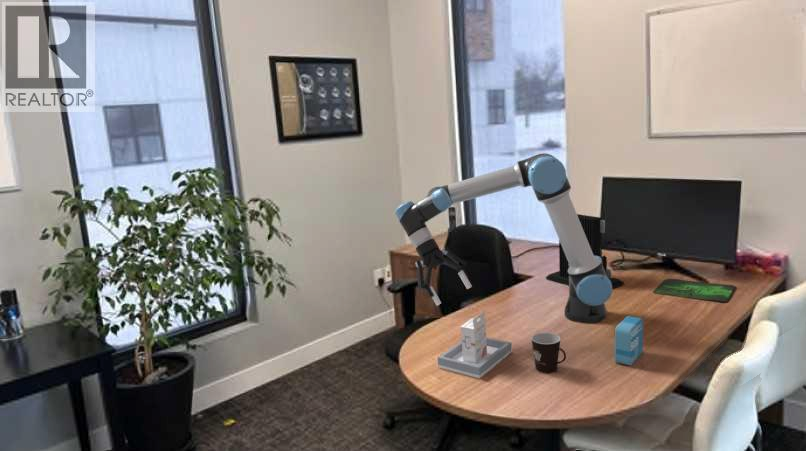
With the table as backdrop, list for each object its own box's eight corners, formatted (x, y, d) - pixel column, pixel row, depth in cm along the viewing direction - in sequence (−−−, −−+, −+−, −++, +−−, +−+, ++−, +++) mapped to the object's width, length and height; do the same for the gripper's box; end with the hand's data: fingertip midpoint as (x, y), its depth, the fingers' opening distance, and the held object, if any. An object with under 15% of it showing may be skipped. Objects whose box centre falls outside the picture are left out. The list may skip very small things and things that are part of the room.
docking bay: (511, 352, 188) (511, 342, 188) (479, 378, 172) (479, 367, 172) (472, 343, 198) (471, 333, 197) (438, 367, 181) (437, 357, 181)
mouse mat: (651, 294, 233) (651, 291, 233) (665, 279, 250) (665, 276, 250) (727, 304, 216) (727, 302, 216) (736, 287, 233) (736, 285, 233)
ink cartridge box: (473, 350, 190) (471, 308, 186) (487, 353, 187) (485, 310, 184) (462, 361, 183) (459, 317, 179) (476, 363, 180) (474, 319, 177)
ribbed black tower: (627, 284, 246) (627, 215, 240) (599, 294, 236) (599, 223, 230) (570, 270, 271) (569, 207, 265) (543, 279, 261) (541, 214, 255)
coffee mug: (528, 363, 179) (527, 334, 177) (555, 361, 180) (554, 331, 178) (540, 381, 168) (539, 349, 166) (568, 378, 169) (568, 346, 167)
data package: (629, 367, 173) (630, 330, 170) (614, 363, 176) (614, 327, 173) (642, 352, 182) (643, 317, 179) (628, 349, 184) (628, 314, 182)
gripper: (447, 233, 209) (477, 284, 205) (391, 260, 198) (421, 314, 194) (455, 226, 203) (486, 278, 199) (398, 253, 191) (429, 309, 188)
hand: (454, 296), depth 196 cm, fingers open, 13 cm apart
